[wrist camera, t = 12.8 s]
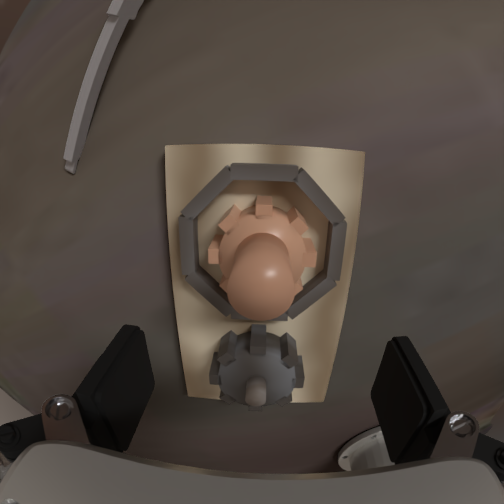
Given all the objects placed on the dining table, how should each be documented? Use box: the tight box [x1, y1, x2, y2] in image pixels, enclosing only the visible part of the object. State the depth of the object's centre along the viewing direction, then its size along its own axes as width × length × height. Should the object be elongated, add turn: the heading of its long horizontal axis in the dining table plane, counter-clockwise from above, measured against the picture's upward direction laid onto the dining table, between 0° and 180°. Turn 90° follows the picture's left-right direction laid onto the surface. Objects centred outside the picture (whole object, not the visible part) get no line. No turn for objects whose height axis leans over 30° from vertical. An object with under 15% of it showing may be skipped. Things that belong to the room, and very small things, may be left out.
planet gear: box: [208, 195, 317, 321], centre depth 19 cm, size 7×7×8 cm
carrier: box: [165, 144, 365, 411], centre depth 22 cm, size 14×24×6 cm, turn 179°
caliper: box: [64, 0, 144, 174], centre depth 16 cm, size 20×1×6 cm, turn 153°
